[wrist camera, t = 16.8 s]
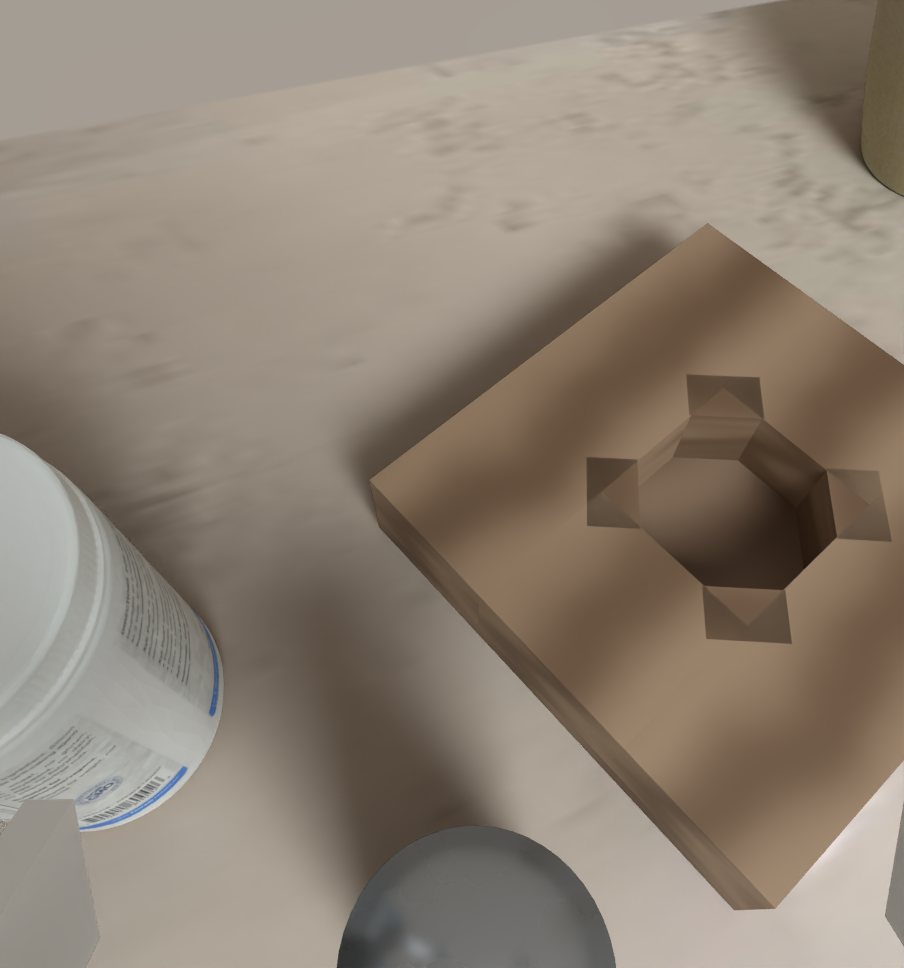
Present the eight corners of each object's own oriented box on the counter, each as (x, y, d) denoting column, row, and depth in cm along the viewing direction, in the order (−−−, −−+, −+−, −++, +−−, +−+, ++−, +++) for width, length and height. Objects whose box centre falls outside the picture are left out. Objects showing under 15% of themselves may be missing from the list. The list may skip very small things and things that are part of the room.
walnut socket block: (379, 527, 37) (369, 479, 33) (685, 287, 43) (707, 223, 39) (734, 910, 30) (775, 908, 26) (1042, 561, 36) (1113, 517, 32)
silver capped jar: (358, 919, 30) (290, 914, 19) (504, 831, 32) (523, 776, 20) (439, 1099, 28) (417, 1222, 16) (593, 996, 29) (674, 1042, 18)
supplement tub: (61, 569, 37) (-164, 373, 24) (267, 626, 35) (150, 453, 22) (-59, 798, 32) (-415, 715, 19) (169, 873, 31) (-47, 838, 18)
